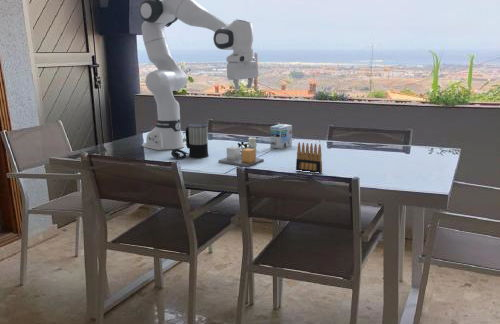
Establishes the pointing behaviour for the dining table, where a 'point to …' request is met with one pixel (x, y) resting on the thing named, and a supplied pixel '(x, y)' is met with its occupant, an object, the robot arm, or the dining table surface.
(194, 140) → the milk frother
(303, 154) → the ammunition clip
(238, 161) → the junction plate
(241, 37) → the robot arm
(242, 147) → the valve
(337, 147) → the dining table surface
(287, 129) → the light bulb box
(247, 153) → the orange wooden block
